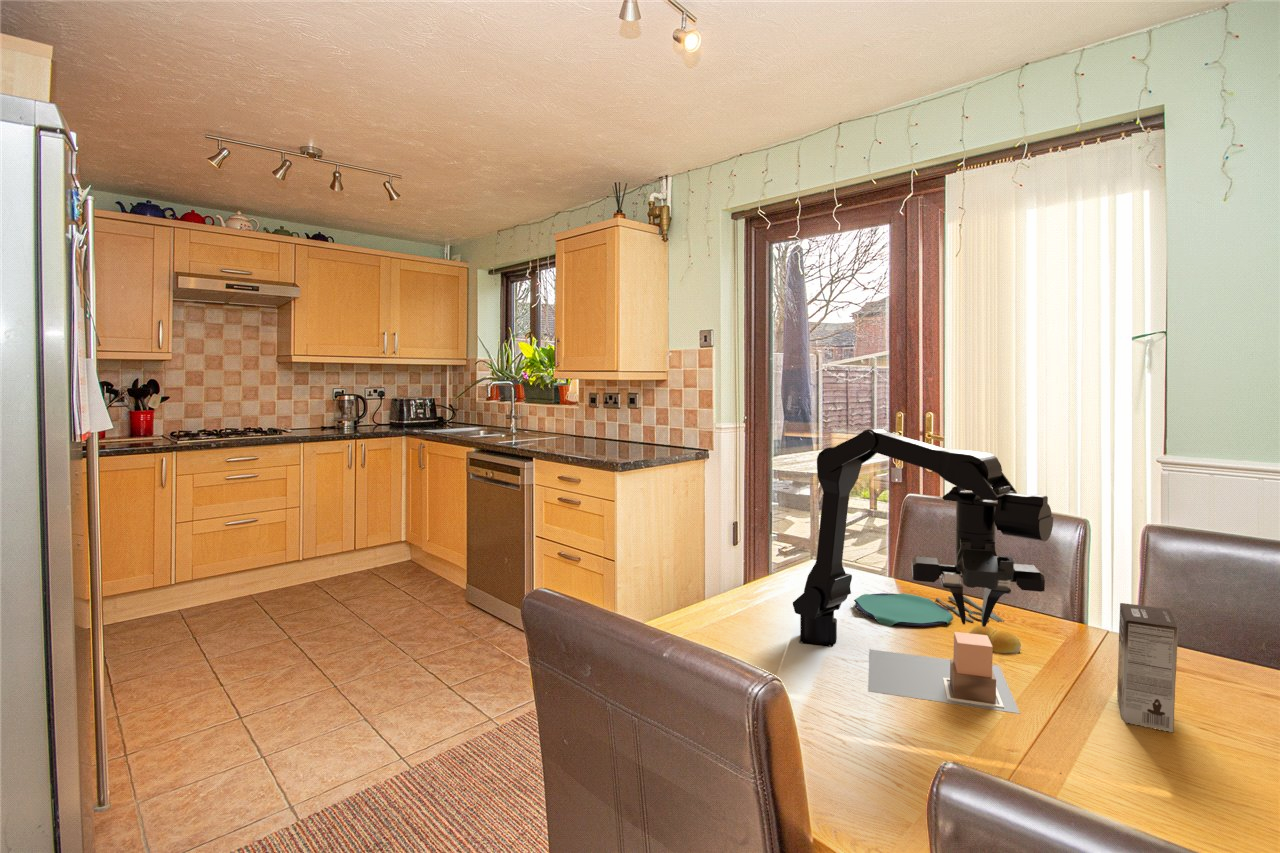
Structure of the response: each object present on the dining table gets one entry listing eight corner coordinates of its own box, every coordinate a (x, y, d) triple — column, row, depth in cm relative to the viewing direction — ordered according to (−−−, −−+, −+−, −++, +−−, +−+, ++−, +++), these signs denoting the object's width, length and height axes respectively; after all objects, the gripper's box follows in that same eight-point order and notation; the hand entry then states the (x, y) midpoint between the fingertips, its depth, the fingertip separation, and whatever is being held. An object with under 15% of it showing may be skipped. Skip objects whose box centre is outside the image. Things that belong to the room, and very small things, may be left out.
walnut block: (953, 698, 103) (954, 673, 103) (949, 682, 109) (950, 659, 109) (995, 704, 101) (996, 679, 101) (989, 687, 107) (990, 664, 107)
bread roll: (1012, 660, 119) (1012, 639, 119) (962, 646, 126) (962, 626, 126) (1028, 648, 125) (1028, 628, 124) (979, 635, 131) (979, 616, 131)
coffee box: (1115, 697, 104) (1118, 601, 103) (1165, 707, 101) (1169, 608, 100) (1121, 723, 97) (1125, 618, 96) (1176, 734, 93) (1180, 626, 92)
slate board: (868, 694, 106) (868, 689, 106) (869, 652, 123) (869, 648, 123) (1019, 717, 98) (1019, 712, 98) (999, 668, 115) (999, 664, 115)
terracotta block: (957, 673, 104) (957, 642, 103) (953, 660, 108) (953, 631, 108) (992, 677, 102) (992, 646, 102) (986, 664, 107) (987, 635, 106)
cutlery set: (841, 601, 153) (841, 592, 153) (962, 599, 155) (963, 590, 155) (877, 634, 133) (878, 623, 133) (1016, 631, 135) (1016, 621, 135)
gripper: (915, 537, 99) (913, 635, 100) (1055, 546, 93) (1052, 651, 94) (912, 523, 110) (910, 612, 111) (1037, 530, 103) (1035, 625, 104)
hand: (973, 624), depth 105 cm, fingers open, 3 cm apart
